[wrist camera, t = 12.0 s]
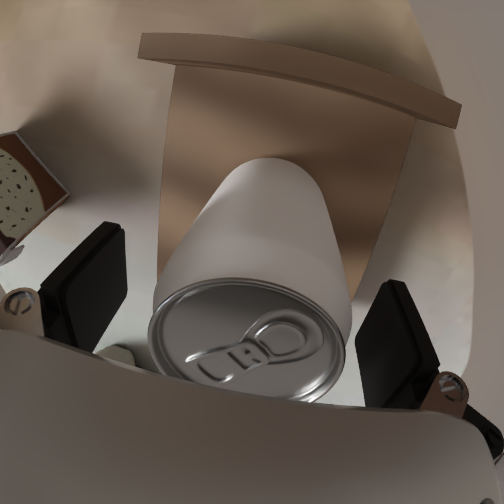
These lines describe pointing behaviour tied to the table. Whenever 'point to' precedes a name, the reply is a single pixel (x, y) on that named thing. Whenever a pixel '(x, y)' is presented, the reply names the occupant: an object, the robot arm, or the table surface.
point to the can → (256, 290)
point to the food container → (23, 194)
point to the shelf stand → (286, 130)
